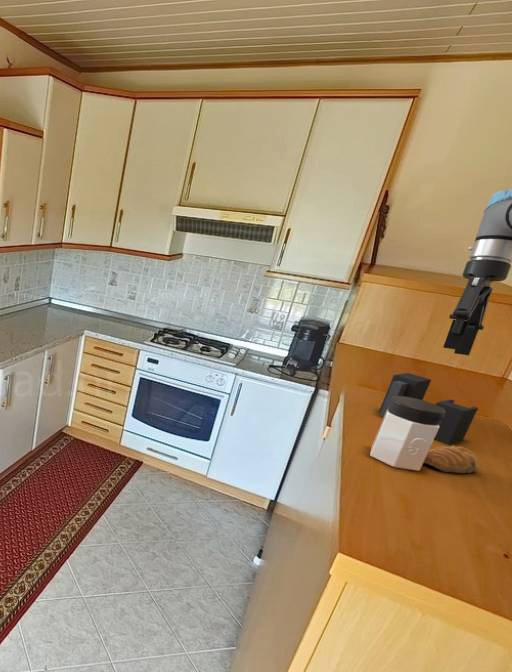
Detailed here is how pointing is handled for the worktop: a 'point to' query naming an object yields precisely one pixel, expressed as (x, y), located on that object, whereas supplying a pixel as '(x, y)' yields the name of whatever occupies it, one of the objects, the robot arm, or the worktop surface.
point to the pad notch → (454, 421)
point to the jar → (407, 432)
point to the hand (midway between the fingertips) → (456, 351)
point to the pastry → (452, 459)
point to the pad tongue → (405, 388)
